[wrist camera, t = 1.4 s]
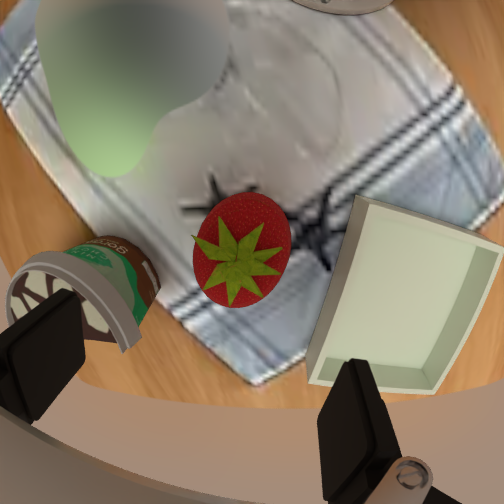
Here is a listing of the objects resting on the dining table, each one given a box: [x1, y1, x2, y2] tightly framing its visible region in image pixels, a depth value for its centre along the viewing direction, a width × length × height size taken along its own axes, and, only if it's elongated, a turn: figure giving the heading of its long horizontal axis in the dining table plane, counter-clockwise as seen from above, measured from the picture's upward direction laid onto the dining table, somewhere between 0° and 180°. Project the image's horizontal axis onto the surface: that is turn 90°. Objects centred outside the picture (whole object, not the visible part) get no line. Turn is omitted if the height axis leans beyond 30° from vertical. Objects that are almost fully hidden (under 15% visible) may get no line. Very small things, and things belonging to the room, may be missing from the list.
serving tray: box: [305, 195, 504, 395], centre depth 23 cm, size 15×13×4 cm
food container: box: [5, 236, 161, 354], centre depth 22 cm, size 12×6×10 cm, turn 93°
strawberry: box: [192, 192, 291, 308], centre depth 20 cm, size 6×8×10 cm
